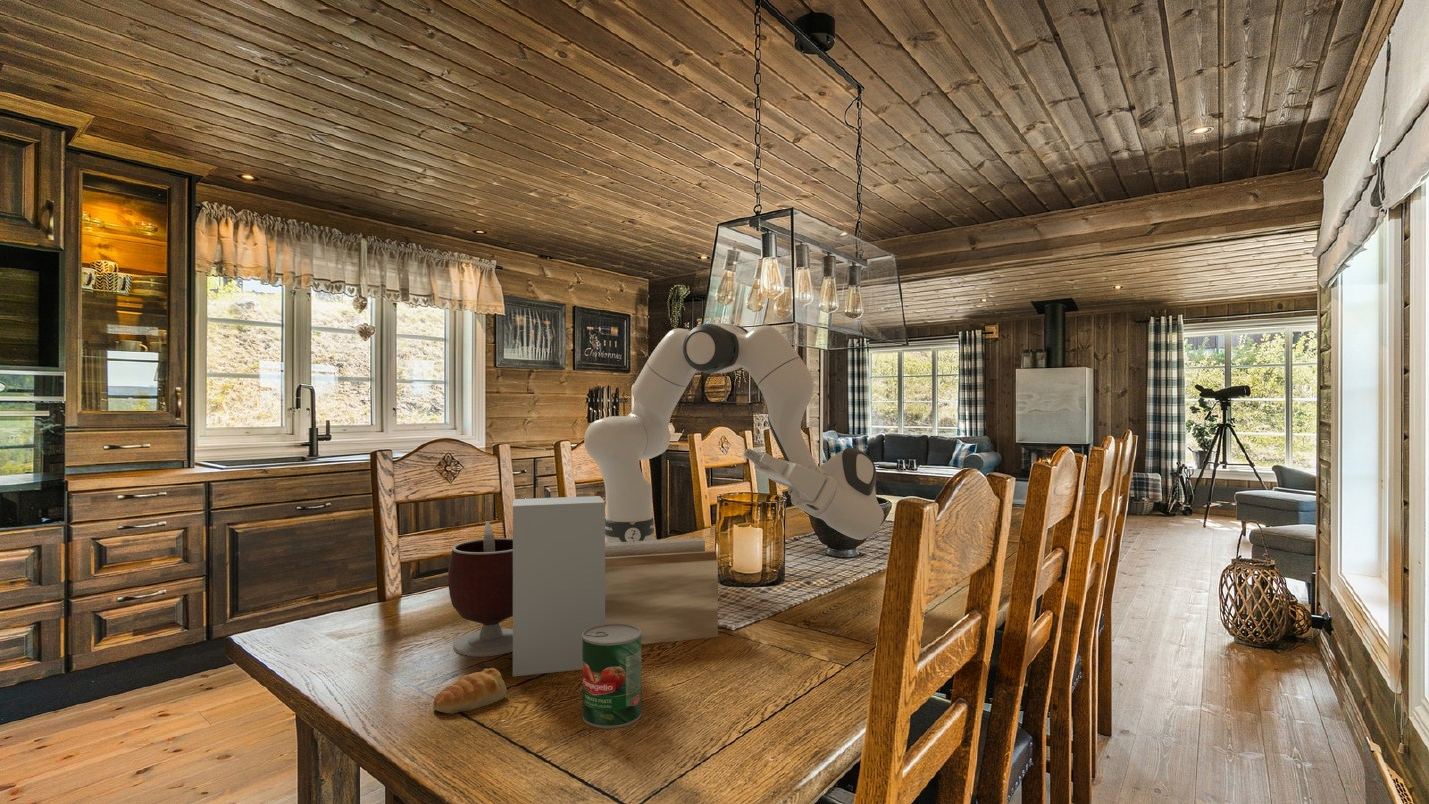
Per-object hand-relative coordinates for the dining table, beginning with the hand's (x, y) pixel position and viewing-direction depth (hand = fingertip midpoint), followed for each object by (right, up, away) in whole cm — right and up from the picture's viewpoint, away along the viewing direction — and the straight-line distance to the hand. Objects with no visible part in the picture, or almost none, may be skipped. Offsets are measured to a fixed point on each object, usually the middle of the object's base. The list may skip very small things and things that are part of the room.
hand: (753, 453), depth 129 cm
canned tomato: (-21, -32, -39) cm, 55 cm away
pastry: (-41, -32, -35) cm, 63 cm away
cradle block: (-19, -32, -6) cm, 38 cm away
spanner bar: (-19, -19, -6) cm, 28 cm away
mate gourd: (-47, -32, -11) cm, 58 cm away
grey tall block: (-33, -32, -20) cm, 50 cm away
